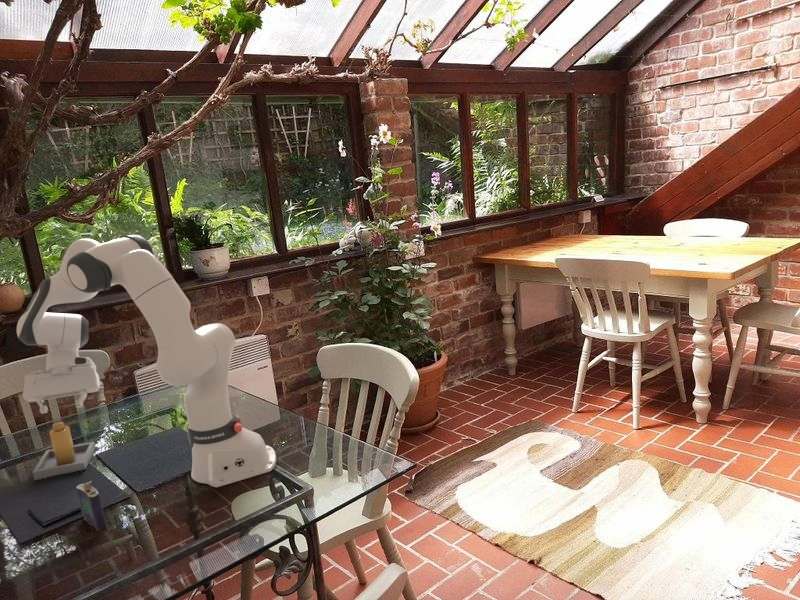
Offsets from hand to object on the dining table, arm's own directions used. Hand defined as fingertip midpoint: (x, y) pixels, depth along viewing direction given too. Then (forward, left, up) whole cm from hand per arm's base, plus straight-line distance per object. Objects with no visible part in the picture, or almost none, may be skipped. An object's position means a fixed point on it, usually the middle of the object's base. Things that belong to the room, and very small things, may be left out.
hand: (61, 409), depth 176 cm
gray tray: (0, +7, -14) cm, 16 cm away
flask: (-15, +42, -14) cm, 47 cm away
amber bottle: (0, +7, -13) cm, 15 cm away
